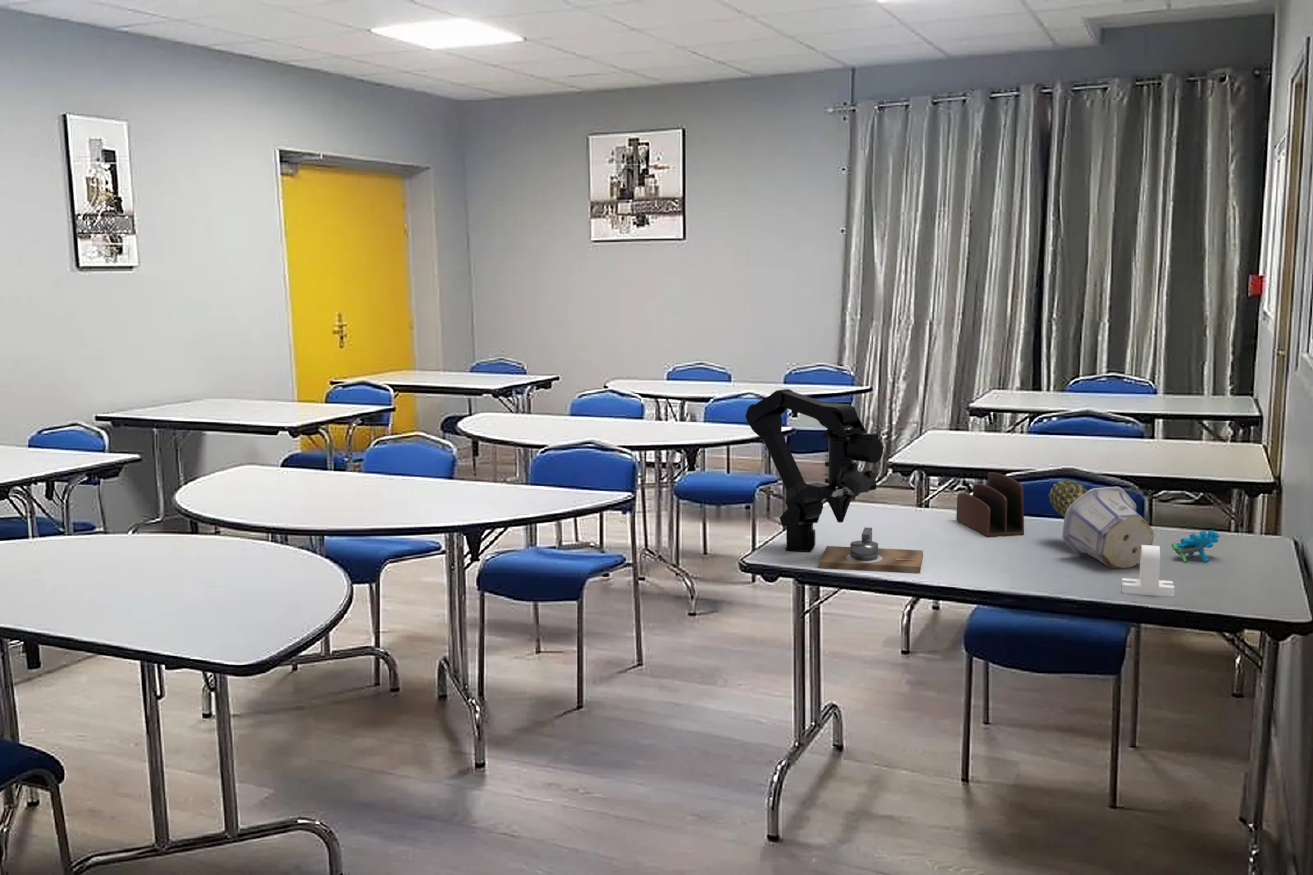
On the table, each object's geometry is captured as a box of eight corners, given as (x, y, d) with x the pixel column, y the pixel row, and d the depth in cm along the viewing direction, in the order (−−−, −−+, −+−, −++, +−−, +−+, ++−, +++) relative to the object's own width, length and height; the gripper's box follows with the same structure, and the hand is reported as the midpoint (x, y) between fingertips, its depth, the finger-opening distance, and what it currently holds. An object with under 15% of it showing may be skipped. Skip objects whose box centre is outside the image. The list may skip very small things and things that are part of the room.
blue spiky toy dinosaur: (1209, 546, 261) (1223, 524, 252) (1220, 568, 257) (1234, 546, 249) (1163, 554, 260) (1175, 532, 252) (1173, 576, 257) (1186, 554, 249)
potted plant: (1172, 507, 245) (1097, 454, 273) (1099, 516, 242) (1030, 462, 270) (1160, 575, 252) (1088, 517, 279) (1088, 585, 249) (1022, 525, 276)
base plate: (818, 568, 256) (818, 560, 256) (827, 551, 271) (827, 544, 270) (920, 573, 250) (920, 565, 250) (923, 556, 264) (923, 549, 264)
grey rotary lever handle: (876, 560, 254) (877, 541, 253) (848, 559, 256) (848, 540, 255) (881, 546, 267) (881, 528, 266) (855, 545, 268) (855, 527, 268)
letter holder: (990, 519, 302) (991, 468, 299) (1024, 535, 282) (1025, 482, 280) (955, 521, 300) (956, 470, 298) (987, 538, 281) (988, 484, 279)
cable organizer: (1174, 597, 228) (1176, 550, 226) (1122, 593, 231) (1124, 547, 230) (1172, 590, 233) (1174, 544, 231) (1121, 586, 236) (1123, 541, 235)
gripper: (835, 467, 249) (834, 534, 252) (893, 458, 260) (892, 522, 262) (802, 460, 258) (802, 525, 261) (860, 452, 269) (859, 514, 271)
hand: (840, 522), depth 263 cm, fingers closed
